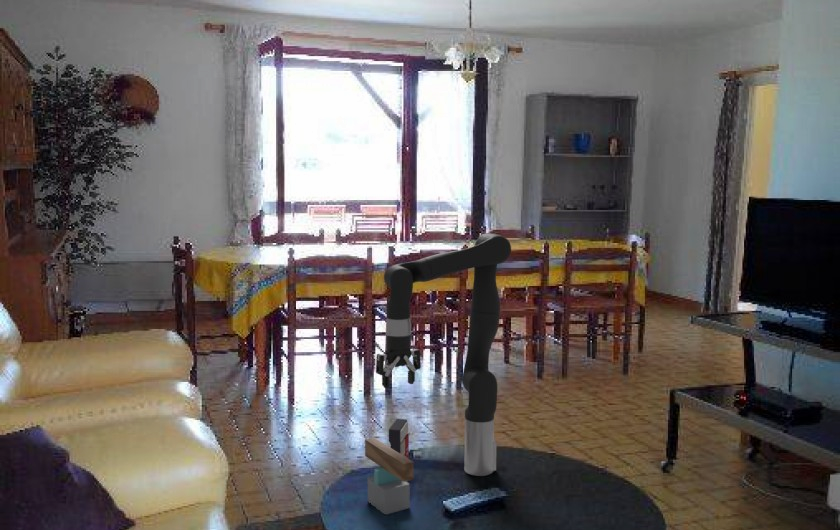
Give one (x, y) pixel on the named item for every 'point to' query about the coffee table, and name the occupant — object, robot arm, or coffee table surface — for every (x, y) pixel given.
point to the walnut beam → (389, 459)
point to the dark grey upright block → (399, 437)
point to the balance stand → (388, 492)
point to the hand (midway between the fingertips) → (398, 385)
